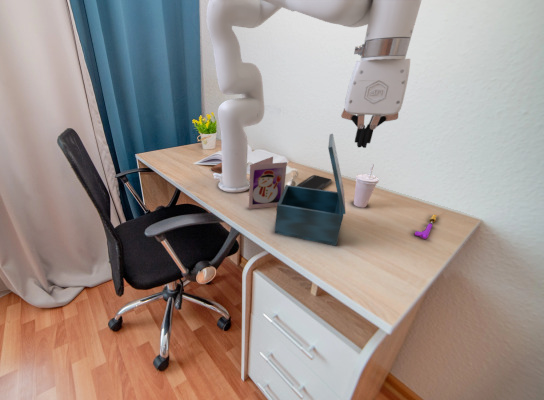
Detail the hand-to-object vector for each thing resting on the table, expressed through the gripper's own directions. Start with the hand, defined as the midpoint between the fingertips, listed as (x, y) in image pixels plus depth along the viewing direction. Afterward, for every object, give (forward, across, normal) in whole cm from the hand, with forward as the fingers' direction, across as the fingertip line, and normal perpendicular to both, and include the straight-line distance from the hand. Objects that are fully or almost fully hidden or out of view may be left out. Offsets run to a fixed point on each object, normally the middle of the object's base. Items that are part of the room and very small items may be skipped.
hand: (361, 145), depth 55 cm
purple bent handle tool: (+24, +22, +12) cm, 35 cm away
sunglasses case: (+24, -48, +39) cm, 66 cm away
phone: (+24, -9, +30) cm, 39 cm away
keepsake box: (+24, -9, 0) cm, 25 cm away
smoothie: (+24, +6, +19) cm, 31 cm away
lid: (+7, -4, 0) cm, 8 cm away
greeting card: (+24, -24, +9) cm, 35 cm away
